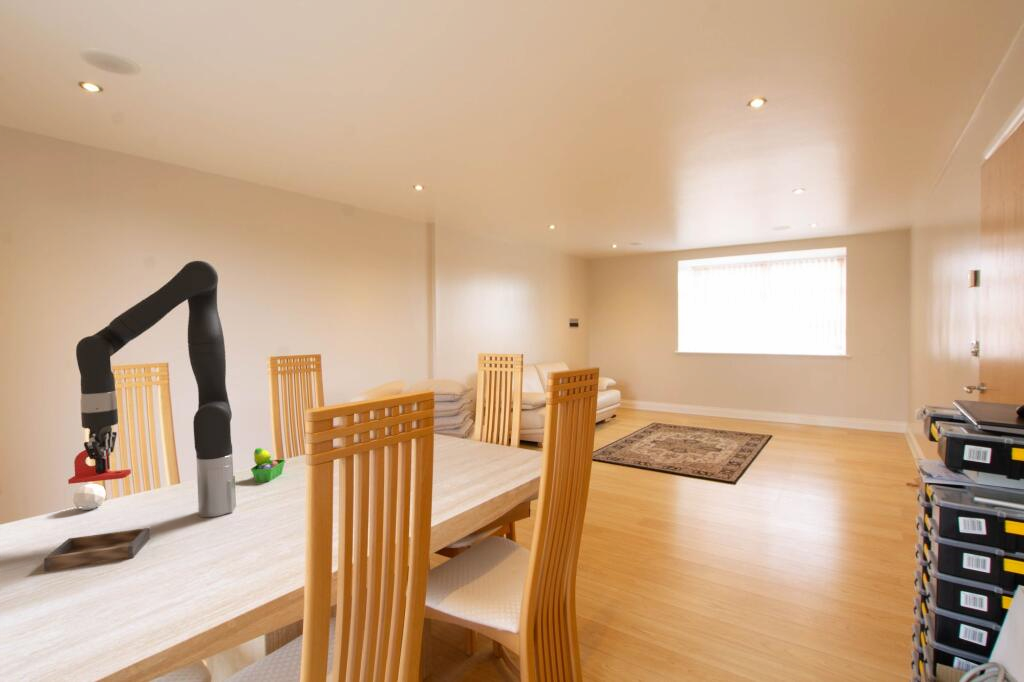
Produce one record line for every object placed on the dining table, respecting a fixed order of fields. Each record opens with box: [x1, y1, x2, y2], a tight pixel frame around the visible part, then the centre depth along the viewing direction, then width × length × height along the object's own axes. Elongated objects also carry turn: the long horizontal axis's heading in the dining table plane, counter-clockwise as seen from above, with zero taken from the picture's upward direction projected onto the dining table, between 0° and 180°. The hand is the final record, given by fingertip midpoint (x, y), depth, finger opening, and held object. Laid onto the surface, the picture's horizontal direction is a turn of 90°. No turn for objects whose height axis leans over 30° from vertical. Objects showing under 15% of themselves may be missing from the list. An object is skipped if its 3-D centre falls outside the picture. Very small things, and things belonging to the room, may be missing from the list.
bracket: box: [67, 449, 132, 485], centre depth 129 cm, size 12×4×8 cm, turn 110°
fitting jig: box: [43, 527, 151, 572], centre depth 119 cm, size 17×11×3 cm, turn 110°
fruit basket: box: [250, 447, 286, 483], centre depth 176 cm, size 11×9×11 cm
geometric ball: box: [72, 483, 107, 511], centre depth 149 cm, size 8×8×8 cm
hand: (102, 471), depth 131 cm, fingers closed on bracket, 1 cm apart
